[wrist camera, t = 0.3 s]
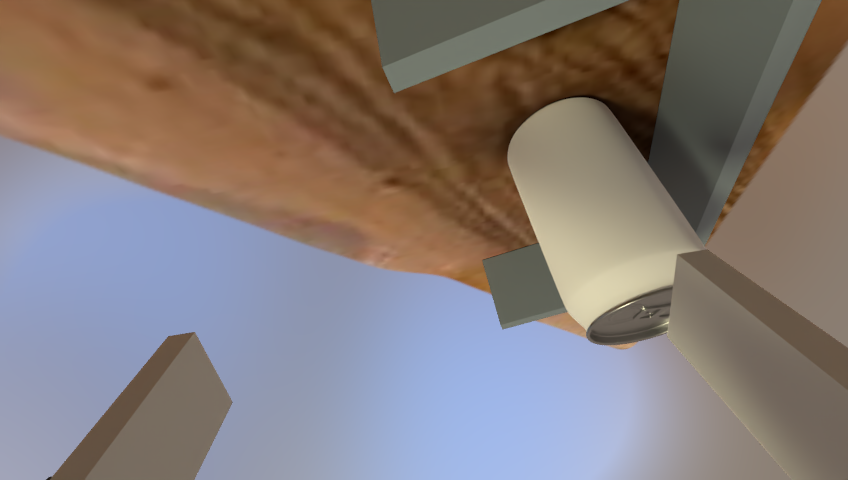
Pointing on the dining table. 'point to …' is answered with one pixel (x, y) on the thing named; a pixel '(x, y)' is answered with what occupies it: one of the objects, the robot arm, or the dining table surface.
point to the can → (600, 219)
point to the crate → (678, 110)
